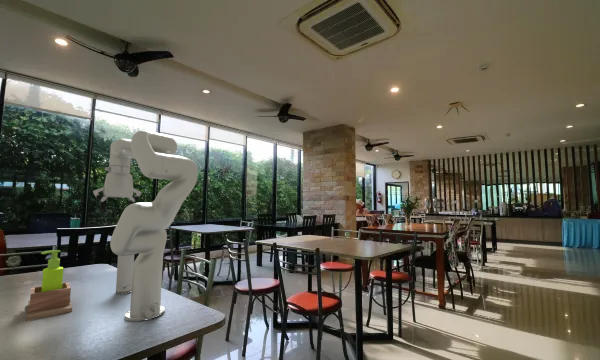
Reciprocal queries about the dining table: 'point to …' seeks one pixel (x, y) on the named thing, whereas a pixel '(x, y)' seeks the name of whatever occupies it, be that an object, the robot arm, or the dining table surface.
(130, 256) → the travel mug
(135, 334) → the dining table surface
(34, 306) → the socket caddy
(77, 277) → the dining table surface
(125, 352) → the dining table surface
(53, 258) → the soap dispenser
